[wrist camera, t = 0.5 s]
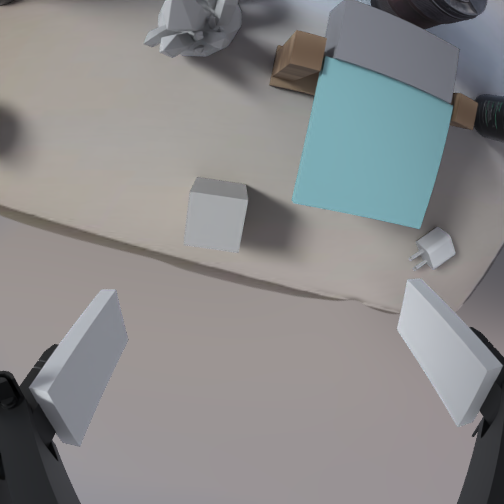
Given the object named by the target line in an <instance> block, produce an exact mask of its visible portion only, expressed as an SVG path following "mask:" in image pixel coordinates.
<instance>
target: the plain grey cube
mask: <svg viewBox="0 0 504 504" xmlns="http://www.w3.org/2000/svg"><path fill="white" fill-rule="evenodd" d="M247 204H248V195H247V189H246V184H241V183H235V182H228V181H222V180H215V179H208V178H201V177H197V178H196V180H195V182H194V184H193V186H192V188H191V190H190V195H189V203H188V211H187V219H186V228H185V237H184V245H187V246H194V247H201V248H208V249H215V250H222V251H229V252H236V253H238V252H239V247H240V242H241V236H242V231H243V226H244V220H245V215H246V210H247Z"/></svg>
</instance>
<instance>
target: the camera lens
mask: <svg viewBox="0 0 504 504" xmlns="http://www.w3.org/2000/svg"><path fill="white" fill-rule="evenodd" d="M486 5H487V0H371V6H372V7H374V8H377V9H379V10H382V11H384V12H387V13H389V14H391V15H394V16H396V17H398V18H401V19H403V20H405V21H407V22H409V23H411V24H414V25H416V26H418V27H420V28H422V29H428V28H431V27H433V26H437V25H441V24H450V23H455V22H459V21H463V20H469V19H473V18H475V17H476V16H478V15H479V14H481V13H482V12H483V11H484V10H485V8H486Z"/></svg>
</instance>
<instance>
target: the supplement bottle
mask: <svg viewBox="0 0 504 504" xmlns="http://www.w3.org/2000/svg"><path fill="white" fill-rule="evenodd" d="M475 102H477V103H478V106H477V112H476V117H475V122H474V126H475V128H476V130H477V131H478V132H479V134H481V135H482V136H484V137H486V138H490V139H493V140H497V141H500V142H504V96H498V95H488V94H483V95H480V96H479V97H477V98H476V100H475Z"/></svg>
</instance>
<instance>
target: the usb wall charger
mask: <svg viewBox="0 0 504 504" xmlns="http://www.w3.org/2000/svg"><path fill="white" fill-rule="evenodd" d="M416 244H417V247H418V249H419V251H418V252H417V253H415V254H414V255H412V256H411V257H410V258H413V259H415V258H416V257H418V256H419V255H421V257H422V259H423V261H422V262H421V263H419V264H418V265H416V266H415V267H414V268H416V269H414V268H412V269H413V270H414V271H415V270H417V269H419V268H420V267H422V266H423V265H425V264H427V265H428V266H429V267H430V268H431V269H432V270H434V269H436V268H437V267H438V266H440V265H441V264H443V263H444V262H445V261H447V260H448V259H450V258H451V257H452V256H454V255H455V250H454V246H453V243H452V239H451V237H450V235H449V234H448V233H446V232H445V231H444V230H442V229H441V228H440V227H436V228H435V229H433V230H432V231H431V232H429V233H428V234H426V235H425V236H423V237H422V238H421V239H419V240H418V241H416ZM410 258H409V260H410V261H412V260H413V259H410Z"/></svg>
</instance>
